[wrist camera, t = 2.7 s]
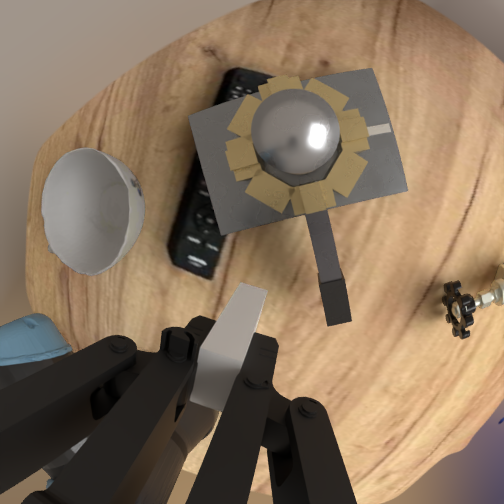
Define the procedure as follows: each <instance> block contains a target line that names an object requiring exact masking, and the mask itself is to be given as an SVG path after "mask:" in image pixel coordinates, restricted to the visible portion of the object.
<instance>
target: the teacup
mask: <svg viewBox="0 0 504 504" xmlns="http://www.w3.org/2000/svg"><path fill="white" fill-rule="evenodd" d="M41 213H42V216H43V218H44V230H45V234H46V238H47V240H48V242H49V245H48V251H49V252H50V253H55V254H56V255H57V256H58V257H59V258H60V260H61V262H63V263H64V264H66V265H67V266H68V267H70V268H72V269H73V270H74V271H75V272H77V273H80V274H87V275H90V276H92V275H97V274H100V273H102V272H104V271H106V270H108V269H109V268H111V267H112V266H114V265H115V264H116V263H118V262H119V261H120V260H121V259H122V258H123V257H124V256H125V255H126V254H127V253H128V251H129V250H130V249H131V248H132V246H133V245H134V243H135V242H136V240H137V238H138V236H139V234H140V232H141V229H142V226H143V221H144V216H145V201H144V196H143V192H142V189H141V186H140V183H139V181H138V180H137V178H136V177H135V175H134V174H133V173H132V171H131V170H130V169H129V168H128V167H127V166H126V165H125V164H124V163H122V162H121V161H120V160H118V159H117V158H115V157H113V156H111V155H109V154H106V153H104V152H101V151H98V150H96V149H92V148H79V149H76V150H73V151H70V152H67V153H65V154H64V155H63V156H62V157H61V158H60V159H59V160H58V161H57V162H56V163H55V165H54V167H53V168H52V169H51V171H50V173H49V175H48V177H47V179H46V181H45V186H44V189H43V193H42V210H41Z"/></svg>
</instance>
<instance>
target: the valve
mask: <svg viewBox="0 0 504 504" xmlns="http://www.w3.org/2000/svg"><path fill="white" fill-rule="evenodd" d="M459 288H462V286H461V283H460V281H459V280H458V281H455V282H452V281H451V282H448V283H445V284H444V291H445V293H446V294H447V295H446V296H443V297H442V302H443V304H444V306H446V307H447V311H448V314H446V321H447V323H452V325H453V328H452V333H453V336H454V337H457V336H459V337H460V339H465V338H467V337H469V336H470V330H468V331H466V330H465V328H467V327H468V326H471V325H473V323H474V319H473V316H472V313H474V312H475V310H476V307H477V306H479V308H481V309H483V308H485V307H488V306H490V305H491V302H493V303H495V304H496V305H498V306H501V305H503V304H504V263H503V264H501V265H499V267H498V270H497V273H496V276H495V279H494V281H493V282H492V284H491V288H490V290H489V291H488V290H487V289H485V290H483V291H480V292H478V293H477V295H476V298H473V297H472V296H471V295H470V294H464V295H461V294H460V292H459V291H458V289H459ZM453 297H454V298H453ZM460 317H461V320H460V323H459V322H458V320H457V319H456V318H460Z"/></svg>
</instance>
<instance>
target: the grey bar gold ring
mask: <svg viewBox="0 0 504 504" xmlns="http://www.w3.org/2000/svg"><path fill="white" fill-rule="evenodd" d="M267 81H268V83H267V84H264V85H260V86H258V89H259V92H260V95H261V98H262V101H261V100H259V99H257V98H255V97H253V96H251V95H248V94H247V96H246V97H245V99H244V101H243V102H242V104H241V106H240V107H239V109H238V111H237V112H236V114H235V116H234V118H233V119H232V121H231V123H230V125H229V126H228V128H227V130H229V131H231V132H232V133H234V134H236V135H238V136H240V137H239V138H236V139H233V140H230V141H227V142H225V143H226V146H227V150H228V151H225V153H226V156H227V160H228V163H229V167H230V171H234V175H235V178H236V182H238V181H246V180H249V179H252V180H251V182H250V183H249V185H248V187H247V189H246V191H245V193H247V194H249V195H251V196H252V197H254V198H256V199H258V200H259V201H261V202H263V203H264V204H266V205H268V206H270V207H271V208H273V209H275V210H276V211H278V212H280V213H281V214H282V212H283V210H284V209H285V207H286V205H287V204H288V202H289V200H290V199H291V202H292V206H293V210H294V214H295V215H299V214H304V213H305V216H306V220H307V224H308V228H309V233H310V237H311V241H312V245H313V249H314V254H315V258H316V262H317V267H318V271H319V273H318V281H319V288H320V292H321V297H322V302H323V307H324V311H325V316H326V321H327V326H333V325H337V324H342V323H346V322H351V321H352V319H351V312H350V306H349V300H348V295H347V289H346V284H345V279H344V276H343V273H342V271H341V268H340V266H339V261H338V256H337V251H336V246H335V242H334V237H333V233H332V228H331V224H330V220H329V215H328V211H327V208H329V207H333V206H336V202H335V198H334V193H333V190H334V191H336V192H338V193H339V194H341V195H342V196H344V197H346V198H347V197H348V196H349V194H350V192H351V191H352V189H353V187H354V186H355V184H356V182H357V181H358V179H359V177H360V175H361V174H362V172H363V170H364V169H365V167H366V165H367V163H368V161H366V160H365V159H363V158H362V157H360V156H359V155H357V154H355V153H359V152H363V151H366V150H368V149H370V147H369V144H368V140H367V138H368V137H369V133H368V129H367V126H366V123H365V119H364V117H360V113H359V110H358V108H357V109H352V110H347V111H342V110H343V108H344V106H345V105H346V103H347V101H348V100H349V97H347V96H345V95H343V94H342V93H340V92H338V91H336V90H335V89H333V88H331V87H329V86H327V85H325V84H324V83H322V82H320V81H318V80H316V79H314V78H311V79H310V81H309V83H308V84H307V86H306V87H305V89H304V90H307V91H310V92H313V93H315V94H317V95H319V96H320V97H322V98H323V99H324V100H325V101H326V102H327V103H328V104H329V105H330V106H331V107H332V109H333V110H334V112H335V114H336V116H337V119H338V122H339V128H340V137H339V142H338V145H337V150H338V155H337V156H336V158H335V160H334V162H333V163H332V165H331V167H330V168H329V170H328V172H327V173H326V175H325V177H324V179H322V180H318V181H313V182H309V183H305V184H301V185H297V186H292V185H290V184H288V183H286V182H285V181H283V180H281V179H280V178H278V177H276V176H274V175H273V174H271V173H269V172H267V171H266V168H265V164H264V161H263V159H262V157H261V156H260V155H259V154H258V152H257V150H256V149H255V147H254V144H253V141H252V136H251V124H252V119H253V116H254V114H255V112H256V110H257V108H258V107H259V105H260V104H261V103H262V102H263V101H264V100H265V99H266V98H267V97H269V96H270V95H272V94H274V93H276V92H278V91H281V90H286V89H303V87H302V84H301V82H300V79H299V76H295V77H290V78H288V76H287V74H286V75H282V76H278V77H274V78H271V79H267Z"/></svg>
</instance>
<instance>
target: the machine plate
mask: <svg viewBox="0 0 504 504" xmlns="http://www.w3.org/2000/svg"><path fill="white" fill-rule="evenodd" d="M314 79H316V80H318V81H320V82H322V83H324V84H325V85H327V86H329V87H331V88H333V89H335V90H336V91H338V92H340V93H342V94H343V95H345V96H347V97H349V100H348V101H347V103H346V105H345V106H344V108H343V110H342V111H347V110H352V109H357V108H358V110H359V113H360V117H364V119H365V123H366V126H367V129H368V133H369V137H368V138H367V140H368V144H369V147H370V149H368V150H366V151H363V152H359V153H355V154H357V155H359V156H360V157H362V158H363V159H365V160H366V161H368V163H367V165H366V167H365V169H364V170H363V172H362V174H361V175H360V177H359V179H358V181H357V182H356V184H355V186H354V187H353V189H352V191H351V192H350V194H349V196H348V197H347V198H346V197H344V196H342V195H341V194H339V193H338V192H336V191H334V190H333V193H334V198H335V202H336V206H333V207H329V208H327V209H331V208H335V207H339V206H344V205H348V204H352V203H357V202H361V201H366V200H370V199H374V198H379V197H383V196H388V195H392V194H397V193H401V192H406V191H408V188H407V183H406V179H405V174H404V170H403V166H402V162H401V158H400V154H399V150H398V146H397V142H396V138H395V135H394V131H393V128H392V125H391V121H390V118H389V115H388V112H387V108H386V105H385V102H384V99H383V96H382V93H381V91H380V88H379V85H378V82H377V79H376V77H375V74H374V71H373V69H372V68H368V69H361V70H355V71H349V72H343V73H337V74H332V75H327V76H322V77H317V78H314ZM309 81H310V79H308V80H303V81H300V82H301V84H302V87H303V89H286V90H281V91H278V92H276V93H274V94H272V95H270V96H269V97H267V98H266V99H265V100H264V101H263V102H262V103H261V104H260V105H259V107H258V108H257V110H256V112H255V114H254V116H253V119H252V124H251V136H252V141H253V144H254V147H255V149H256V150H257V152H258V154H259V155H260V156H261V157H262V159H263V161H264V164H265V168H266V171H267V172H269V173H271V174H273V175H274V176H276V177H278V178H280V179H281V180H283V181H285V182H286V183H288V184H290V185H292V186H297V185H301V184H305V183H309V182H313V181H318V180H322V179H324V177H325V175H326V173H327V172H328V170H329V168H330V167H331V165H332V163H333V162H334V160H335V158H336V156H337V155H338V150H337V145H338V142H339V137H340V128H339V122H338V119H337V116H336V114H335V112H334V110H333V109H332V107H331V106H330V105H329V104H328V103H327V102H326V101H325V100H324V99H323V98H322V97H320V96H319V95H317V94H315V93H313V92H310V91H307V90H304V89H305V87H306V86H307V84H308V83H309ZM250 95H251V96H253V97H255V98H257V99H259V100H261V101H262V98H261V95H260V92H257V93H254V94H250ZM245 97H246V96H244V97H241V98H238V99H234V100H231V101H228V102H225V103H222V104H219V105H216V106H214V107H211V108H208V109H205V110H202V111H200V112H197V113H194V114H192V115H189V116H188V118H189V122H190V126H191V130H192V133H193V137H194V141H195V144H196V148H197V152H198V155H199V159H200V163H201V166H202V170H203V173H204V177H205V181H206V184H207V188H208V191H209V195H210V198H211V202H212V205H213V209H214V212H215V216H216V219H217V223H218V226H219V229H220V233H221V235H225V234H229V233H233V232H237V231H241V230H245V229H249V228H253V227H257V226H261V225H265V224H269V223H273V222H277V221H281V220H285V219H289V218H293V217H297V216H301V215H305V213H304V214H299V215H295V214H294V210H293V206H292V202H291V199H290V200H289V202H288V204H287V205H286V207H285V209H284V210H283V212H282V214H281V213H280V212H278V211H276V210H275V209H273V208H271V207H270V206H268V205H266V204H264V203H263V202H261V201H259V200H258V199H256V198H254V197H252V196H251V195H249V194H247V193H245V191H246V189H247V187H248V185H249V183H250V182H251V180H252V179H249V180H246V181H238V182H236V178H235V175H234V171H230V167H229V163H228V160H227V156H226V153H225V151H228V150H227V146H226V143H225V142H227V141H230V140H233V139H236V138H239V137H240V136H238V135H236V134H234V133H232V132H231V131H229V130H227V128H228V126H229V125H230V123H231V121H232V119H233V118H234V116H235V114H236V112H237V111H238V109H239V107H240V106H241V104H242V102H243V101H244V99H245Z"/></svg>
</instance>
